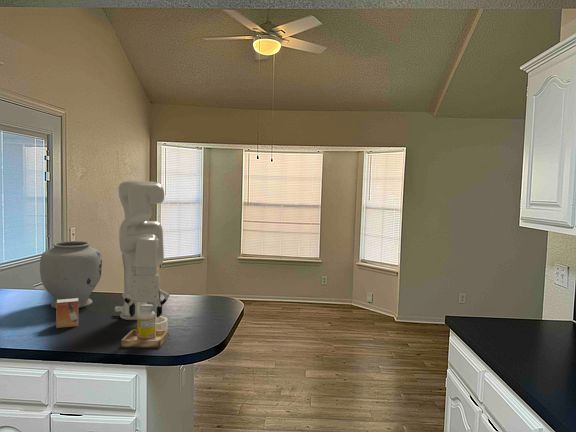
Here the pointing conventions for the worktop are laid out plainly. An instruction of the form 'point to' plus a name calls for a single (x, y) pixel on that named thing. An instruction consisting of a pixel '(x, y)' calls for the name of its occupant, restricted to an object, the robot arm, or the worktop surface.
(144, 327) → the supplement bottle
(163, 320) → the holder
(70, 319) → the small box
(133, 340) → the tray
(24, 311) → the worktop surface
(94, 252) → the grey ceramic vase
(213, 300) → the worktop surface
